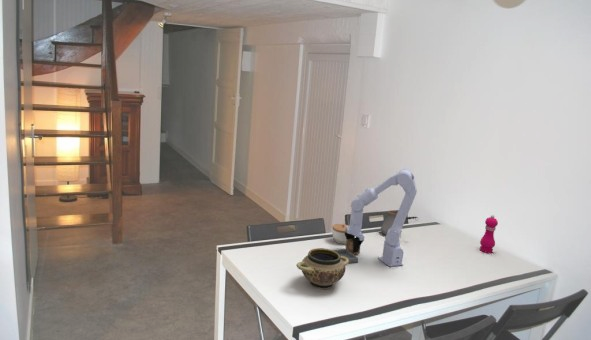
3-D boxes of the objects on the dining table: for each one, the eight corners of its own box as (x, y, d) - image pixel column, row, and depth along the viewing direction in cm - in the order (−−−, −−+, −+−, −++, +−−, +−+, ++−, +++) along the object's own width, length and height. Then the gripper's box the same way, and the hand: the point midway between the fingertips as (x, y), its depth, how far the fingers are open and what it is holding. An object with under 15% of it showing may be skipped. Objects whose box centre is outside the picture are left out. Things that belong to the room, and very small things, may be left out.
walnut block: (359, 253, 218) (360, 242, 217) (350, 254, 216) (351, 242, 215) (354, 249, 223) (355, 238, 222) (345, 250, 221) (346, 239, 219)
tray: (357, 262, 209) (358, 258, 209) (336, 264, 205) (337, 260, 204) (345, 253, 219) (346, 248, 218) (325, 255, 214) (326, 250, 214)
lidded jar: (352, 246, 229) (355, 228, 227) (331, 244, 229) (333, 226, 227) (350, 238, 239) (352, 221, 237) (330, 236, 239) (332, 219, 237)
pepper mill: (490, 249, 244) (497, 213, 239) (495, 254, 237) (502, 217, 232) (477, 247, 244) (483, 212, 240) (481, 252, 237) (487, 216, 233)
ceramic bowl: (337, 279, 197) (335, 244, 197) (362, 287, 181) (360, 249, 181) (286, 287, 185) (285, 250, 185) (308, 297, 169) (307, 256, 169)
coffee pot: (375, 232, 253) (379, 206, 249) (389, 229, 260) (392, 204, 257) (406, 246, 237) (410, 218, 233) (420, 242, 244) (424, 215, 241)
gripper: (341, 218, 221) (338, 244, 224) (356, 228, 208) (353, 256, 211) (353, 217, 224) (350, 243, 227) (369, 227, 211) (366, 254, 214)
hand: (352, 249), depth 219 cm, fingers closed on walnut block, 5 cm apart
